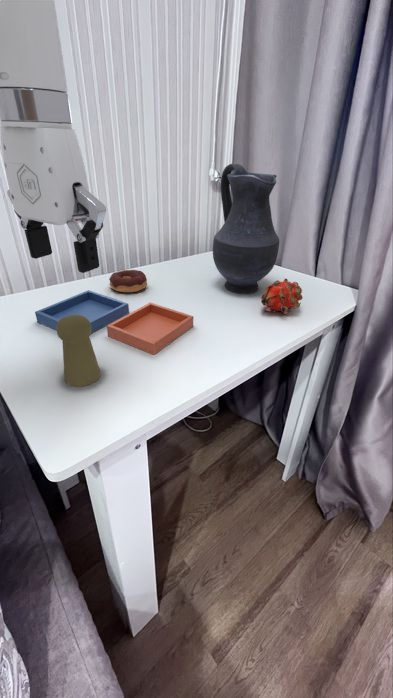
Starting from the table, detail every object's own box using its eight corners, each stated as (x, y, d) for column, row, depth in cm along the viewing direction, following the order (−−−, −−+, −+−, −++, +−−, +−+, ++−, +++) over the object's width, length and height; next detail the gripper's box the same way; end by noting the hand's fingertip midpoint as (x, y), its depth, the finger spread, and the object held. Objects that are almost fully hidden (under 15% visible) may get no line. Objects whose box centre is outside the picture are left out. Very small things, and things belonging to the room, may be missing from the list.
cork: (56, 380, 55) (42, 322, 49) (79, 362, 60) (69, 307, 54) (86, 390, 54) (75, 331, 48) (108, 370, 58) (100, 314, 52)
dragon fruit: (299, 312, 85) (262, 328, 80) (282, 285, 87) (245, 299, 82) (318, 295, 77) (278, 312, 73) (298, 266, 79) (259, 281, 75)
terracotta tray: (153, 355, 63) (153, 344, 62) (107, 336, 68) (106, 325, 67) (193, 326, 73) (193, 316, 72) (150, 311, 78) (150, 302, 77)
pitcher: (233, 304, 83) (248, 170, 67) (192, 277, 98) (196, 162, 82) (284, 293, 91) (308, 169, 75) (239, 269, 106) (251, 162, 90)
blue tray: (78, 340, 66) (76, 329, 65) (37, 322, 72) (34, 311, 71) (129, 313, 77) (128, 303, 76) (89, 299, 83) (88, 289, 81)
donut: (102, 291, 87) (100, 276, 85) (120, 278, 95) (119, 265, 93) (137, 297, 85) (136, 282, 83) (152, 283, 93) (152, 270, 91)
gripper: (-41, 110, 38) (2, 257, 47) (59, 110, 31) (87, 285, 40) (18, 114, 43) (47, 245, 53) (116, 115, 36) (129, 267, 45)
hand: (64, 262), depth 46 cm, fingers open, 9 cm apart
